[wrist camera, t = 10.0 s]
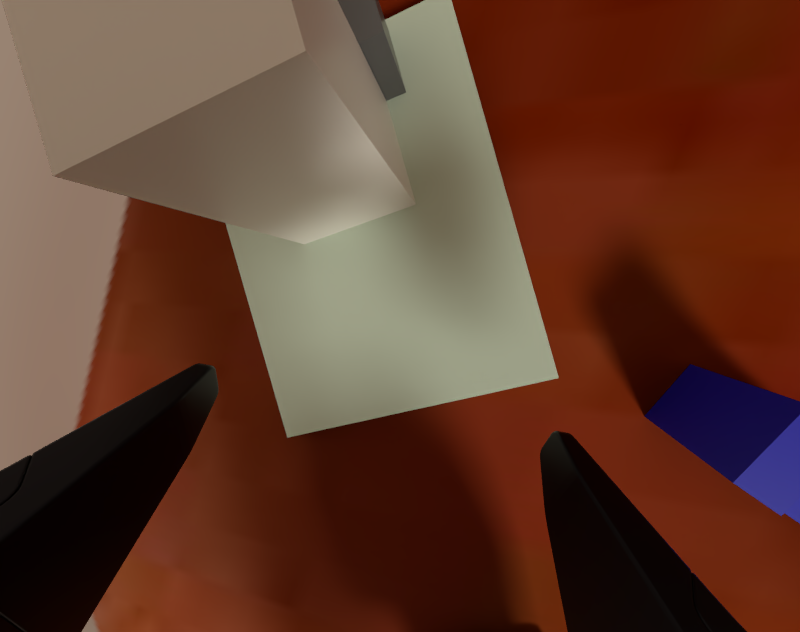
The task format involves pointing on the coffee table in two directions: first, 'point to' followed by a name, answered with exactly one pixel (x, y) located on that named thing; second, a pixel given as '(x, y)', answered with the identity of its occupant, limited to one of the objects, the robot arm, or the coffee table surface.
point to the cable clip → (737, 433)
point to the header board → (403, 257)
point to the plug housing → (214, 109)
